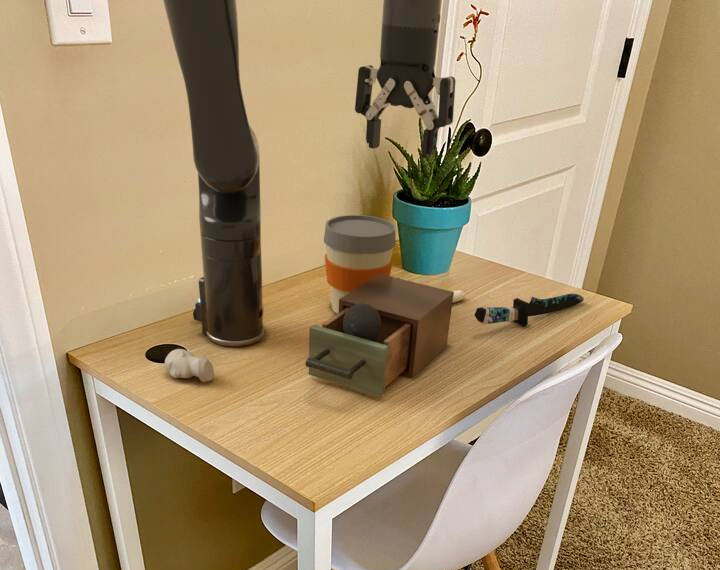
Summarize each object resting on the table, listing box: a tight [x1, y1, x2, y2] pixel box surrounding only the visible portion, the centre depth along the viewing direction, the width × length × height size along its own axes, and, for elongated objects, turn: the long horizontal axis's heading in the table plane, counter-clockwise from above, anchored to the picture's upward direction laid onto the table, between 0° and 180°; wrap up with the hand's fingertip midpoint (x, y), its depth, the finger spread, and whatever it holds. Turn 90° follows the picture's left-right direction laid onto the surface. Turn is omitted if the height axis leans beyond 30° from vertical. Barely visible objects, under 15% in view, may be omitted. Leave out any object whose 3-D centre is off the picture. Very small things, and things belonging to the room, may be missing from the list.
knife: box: [474, 293, 585, 327], centre depth 136 cm, size 31×3×4 cm, turn 125°
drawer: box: [305, 307, 413, 398], centre depth 112 cm, size 18×12×8 cm
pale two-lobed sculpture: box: [164, 348, 215, 383], centre depth 112 cm, size 4×8×5 cm
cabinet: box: [339, 274, 454, 379], centre depth 121 cm, size 14×14×10 cm
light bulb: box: [343, 303, 381, 341], centre depth 111 cm, size 6×6×10 cm
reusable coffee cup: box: [323, 214, 397, 314], centre depth 133 cm, size 12×13×15 cm
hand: (400, 152), depth 109 cm, fingers open, 8 cm apart
